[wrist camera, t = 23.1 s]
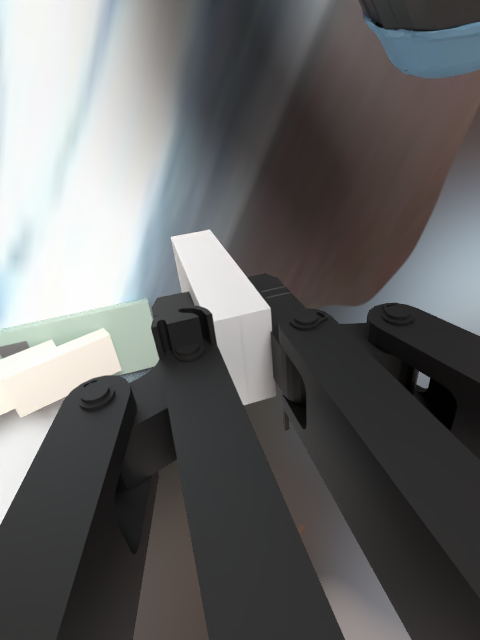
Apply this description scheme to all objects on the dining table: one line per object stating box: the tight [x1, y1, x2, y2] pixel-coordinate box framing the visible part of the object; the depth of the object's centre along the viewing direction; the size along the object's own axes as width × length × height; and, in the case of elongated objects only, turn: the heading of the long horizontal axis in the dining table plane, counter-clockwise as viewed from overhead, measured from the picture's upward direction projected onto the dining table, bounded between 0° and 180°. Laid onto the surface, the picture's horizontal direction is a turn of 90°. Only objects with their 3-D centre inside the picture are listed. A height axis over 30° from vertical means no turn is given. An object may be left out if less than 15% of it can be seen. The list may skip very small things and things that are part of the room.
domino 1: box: [0, 339, 56, 415], centre depth 39 cm, size 2×5×11 cm
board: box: [0, 298, 159, 376], centre depth 42 cm, size 30×9×1 cm, turn 96°
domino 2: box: [0, 328, 122, 418], centre depth 40 cm, size 2×5×11 cm
